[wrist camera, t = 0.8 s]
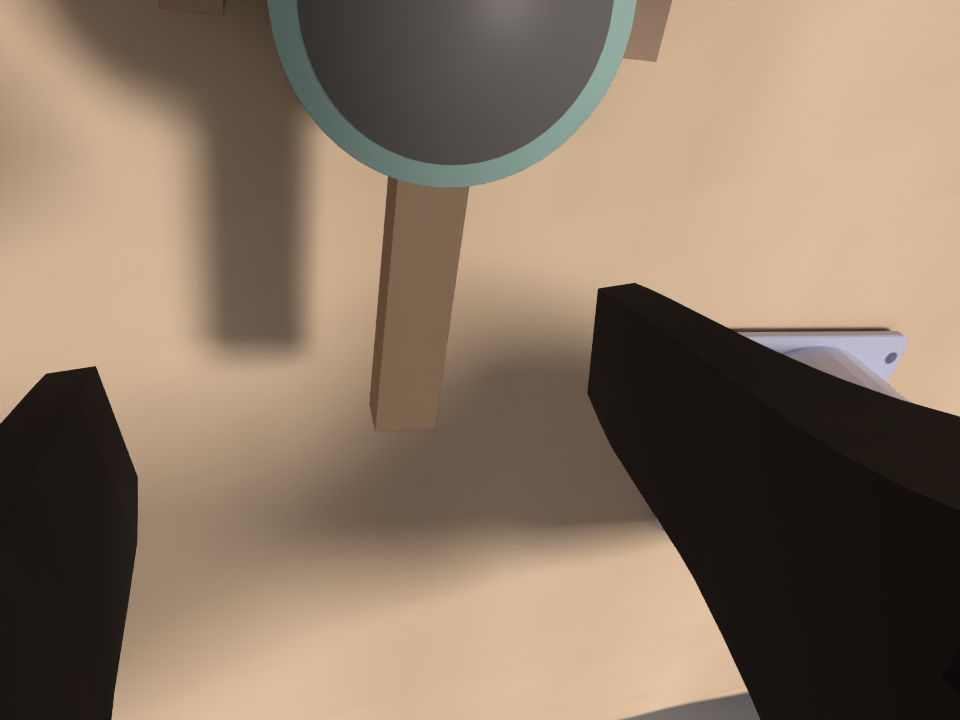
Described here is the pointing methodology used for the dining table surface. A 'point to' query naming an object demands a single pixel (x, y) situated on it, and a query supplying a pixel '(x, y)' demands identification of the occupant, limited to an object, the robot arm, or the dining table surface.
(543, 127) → the pot
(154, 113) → the dining table surface
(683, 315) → the robot arm
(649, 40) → the holder
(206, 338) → the dining table surface
